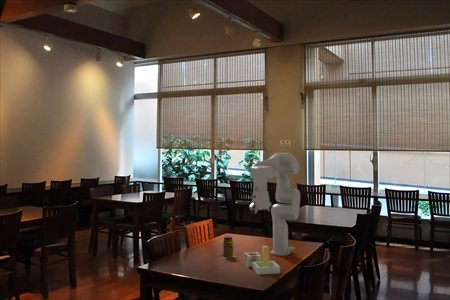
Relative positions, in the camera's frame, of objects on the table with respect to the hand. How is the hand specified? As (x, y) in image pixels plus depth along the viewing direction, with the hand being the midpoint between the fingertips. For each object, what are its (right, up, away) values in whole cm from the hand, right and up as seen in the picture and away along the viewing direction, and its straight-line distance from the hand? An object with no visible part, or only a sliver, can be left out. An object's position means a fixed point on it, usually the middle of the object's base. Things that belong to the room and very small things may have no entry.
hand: (260, 219), depth 222 cm
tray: (+2, -27, -7) cm, 28 cm away
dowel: (+2, -26, -6) cm, 27 cm away
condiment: (-19, -28, +25) cm, 42 cm away
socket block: (-4, -27, +5) cm, 28 cm away
